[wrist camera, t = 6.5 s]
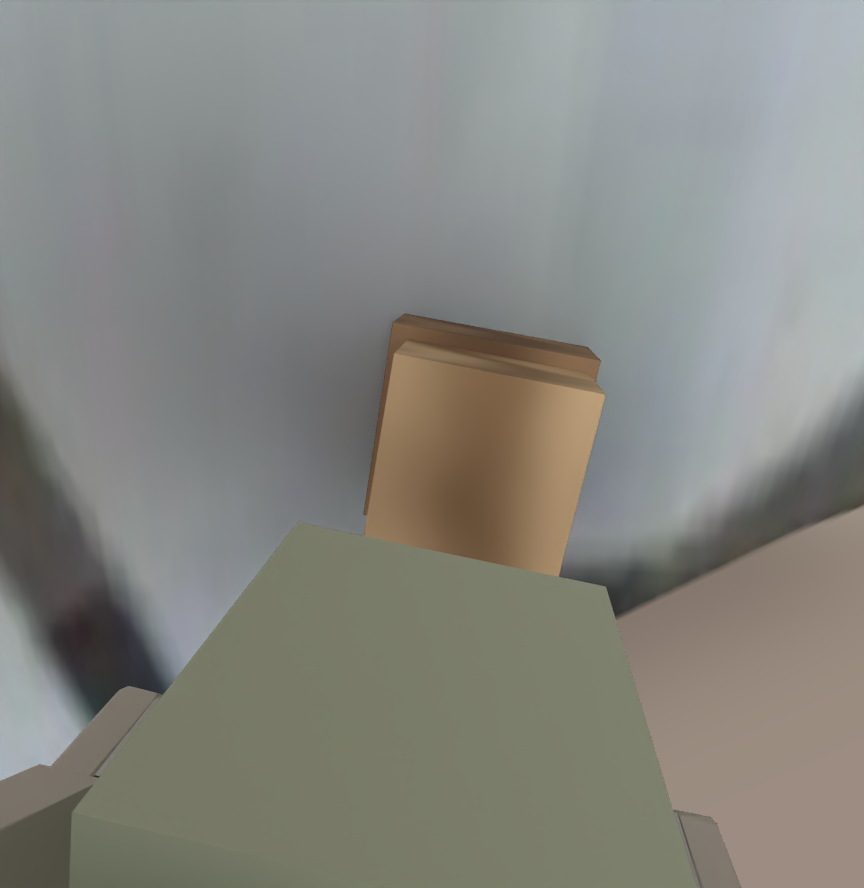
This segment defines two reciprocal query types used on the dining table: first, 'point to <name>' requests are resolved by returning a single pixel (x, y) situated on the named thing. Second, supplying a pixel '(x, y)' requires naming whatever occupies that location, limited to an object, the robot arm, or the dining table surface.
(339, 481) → the dining table surface
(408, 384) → the tower top
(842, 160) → the dining table surface
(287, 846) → the green block
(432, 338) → the tower base
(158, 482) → the dining table surface
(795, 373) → the dining table surface
